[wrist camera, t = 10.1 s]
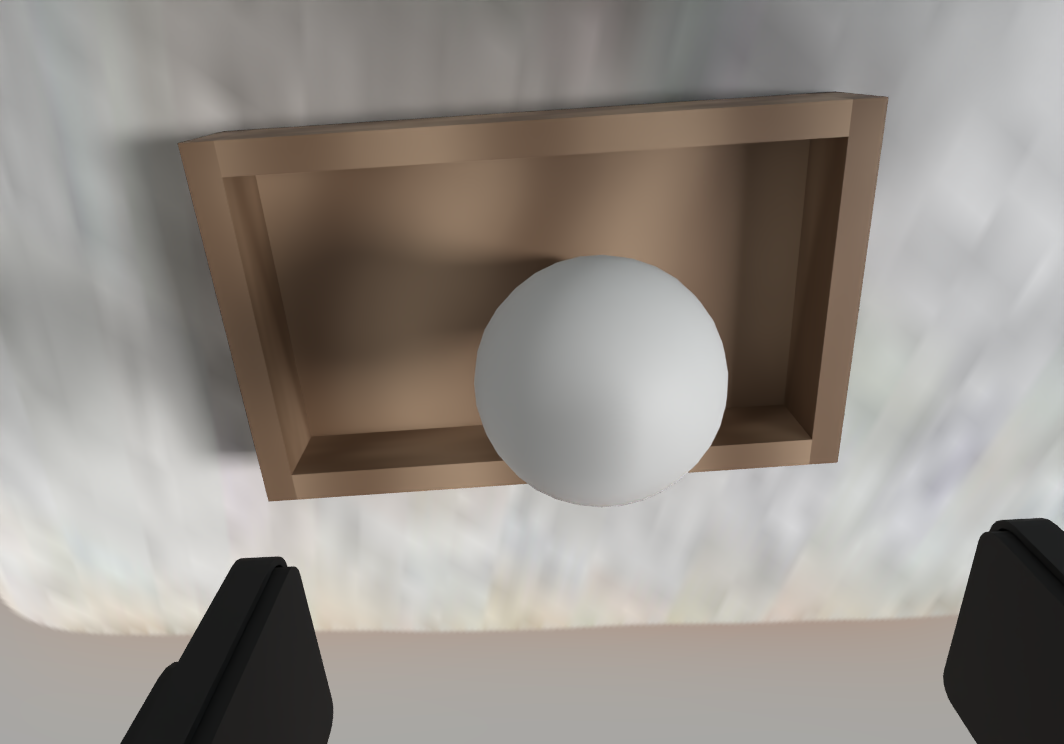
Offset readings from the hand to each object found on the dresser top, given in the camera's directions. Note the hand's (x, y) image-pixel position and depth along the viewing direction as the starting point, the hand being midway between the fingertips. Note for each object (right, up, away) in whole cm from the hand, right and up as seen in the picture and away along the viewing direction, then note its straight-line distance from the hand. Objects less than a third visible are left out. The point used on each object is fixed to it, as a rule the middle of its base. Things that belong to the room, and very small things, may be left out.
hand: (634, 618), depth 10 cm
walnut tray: (-1, +6, +16) cm, 17 cm away
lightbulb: (0, +6, +15) cm, 16 cm away
